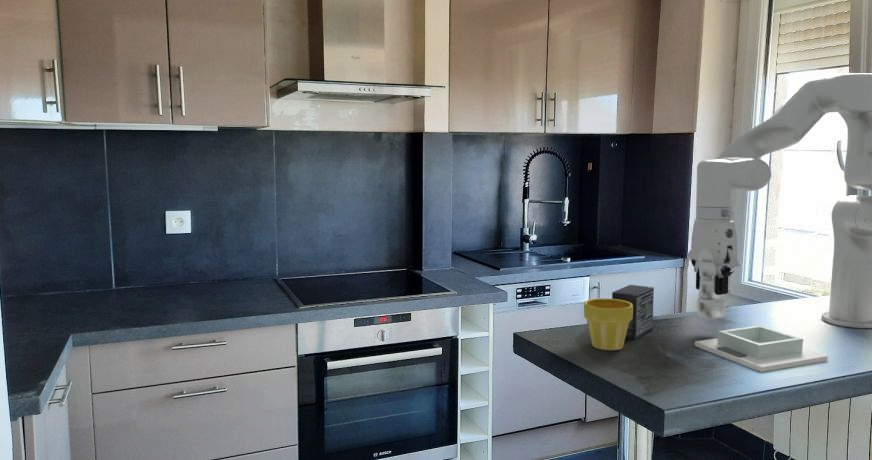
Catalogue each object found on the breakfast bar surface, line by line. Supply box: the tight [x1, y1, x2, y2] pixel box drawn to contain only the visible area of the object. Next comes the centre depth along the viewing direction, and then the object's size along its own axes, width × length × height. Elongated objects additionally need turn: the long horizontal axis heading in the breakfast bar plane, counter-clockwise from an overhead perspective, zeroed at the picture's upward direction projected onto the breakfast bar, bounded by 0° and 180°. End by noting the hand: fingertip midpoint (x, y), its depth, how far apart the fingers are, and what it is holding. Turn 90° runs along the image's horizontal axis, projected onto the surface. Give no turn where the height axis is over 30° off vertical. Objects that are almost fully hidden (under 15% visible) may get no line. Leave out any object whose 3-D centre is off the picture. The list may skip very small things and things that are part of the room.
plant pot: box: [583, 297, 633, 351], centre depth 145 cm, size 10×10×10 cm
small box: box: [611, 284, 655, 340], centre depth 156 cm, size 11×6×10 cm, turn 141°
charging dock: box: [694, 325, 829, 373], centre depth 140 cm, size 18×18×4 cm
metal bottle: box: [695, 248, 727, 320], centre depth 153 cm, size 6×7×20 cm
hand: (711, 290), depth 153 cm, fingers closed on metal bottle, 5 cm apart
